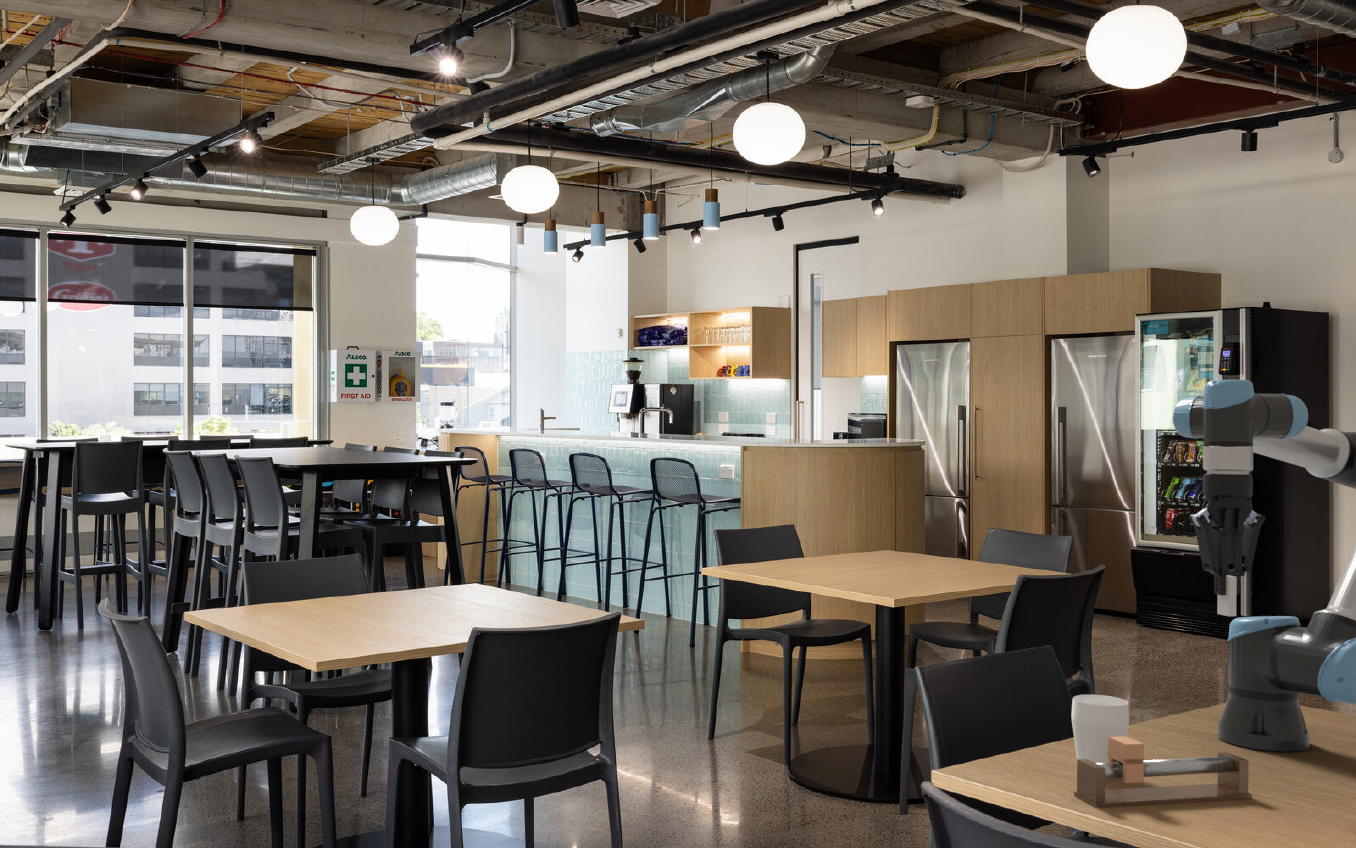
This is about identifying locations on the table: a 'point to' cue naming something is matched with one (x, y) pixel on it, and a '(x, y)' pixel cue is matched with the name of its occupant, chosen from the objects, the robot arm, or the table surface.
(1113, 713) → the cup
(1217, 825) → the table surface
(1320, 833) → the table surface
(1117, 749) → the tan block
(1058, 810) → the table surface
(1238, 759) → the wooden rod stand
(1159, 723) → the table surface
